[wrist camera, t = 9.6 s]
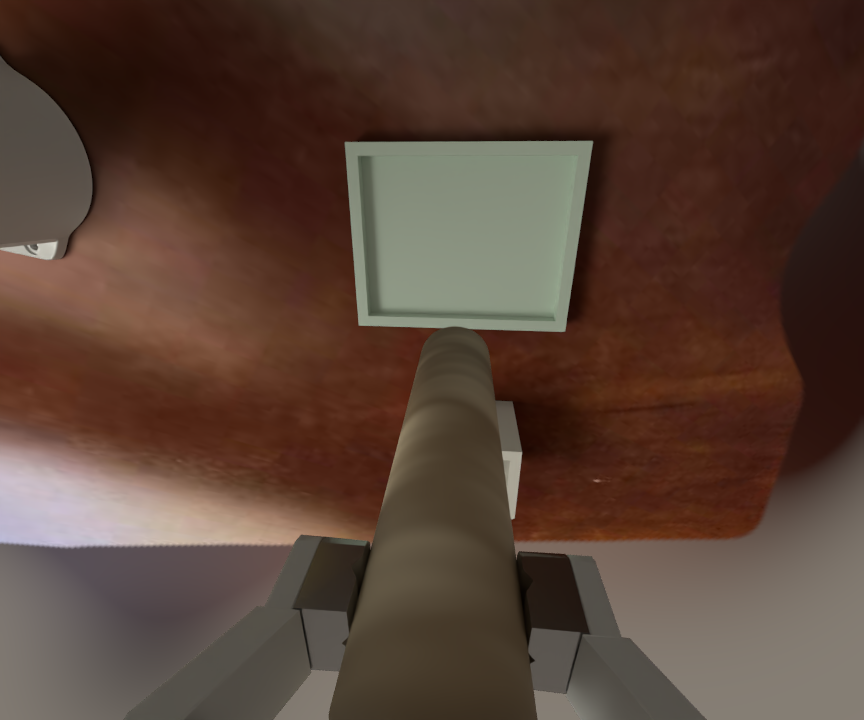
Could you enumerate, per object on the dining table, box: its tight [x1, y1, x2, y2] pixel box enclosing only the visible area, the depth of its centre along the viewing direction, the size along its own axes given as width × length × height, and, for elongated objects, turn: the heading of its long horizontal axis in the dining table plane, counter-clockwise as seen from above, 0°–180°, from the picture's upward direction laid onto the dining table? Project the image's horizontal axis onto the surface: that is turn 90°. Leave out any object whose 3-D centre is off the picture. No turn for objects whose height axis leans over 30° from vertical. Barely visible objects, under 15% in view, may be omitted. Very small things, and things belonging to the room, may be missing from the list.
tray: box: [345, 141, 593, 332], centre depth 37 cm, size 20×16×2 cm
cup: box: [495, 401, 522, 519], centre depth 42 cm, size 8×8×9 cm
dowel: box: [329, 326, 537, 720], centre depth 12 cm, size 3×3×14 cm
